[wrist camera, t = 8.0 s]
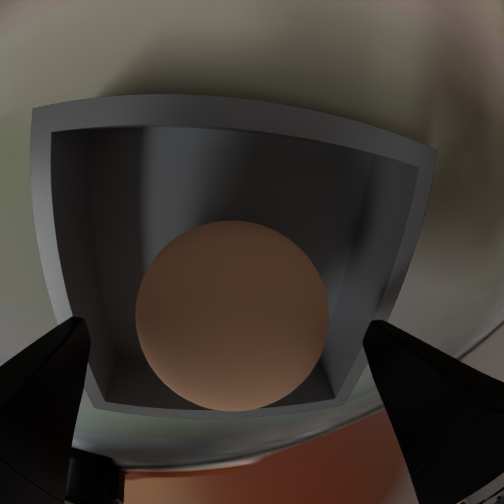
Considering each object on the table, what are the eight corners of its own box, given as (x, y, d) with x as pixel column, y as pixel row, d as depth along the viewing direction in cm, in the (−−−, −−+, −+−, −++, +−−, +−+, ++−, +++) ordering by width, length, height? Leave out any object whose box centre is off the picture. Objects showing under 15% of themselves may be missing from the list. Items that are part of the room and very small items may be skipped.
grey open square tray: (108, 359, 13) (94, 408, 10) (81, 111, 8) (32, 108, 5) (322, 360, 15) (343, 404, 12) (382, 140, 10) (437, 150, 7)
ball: (157, 325, 12) (141, 440, 6) (150, 195, 9) (88, 276, 4) (283, 327, 13) (323, 432, 8) (308, 206, 11) (399, 283, 5)
